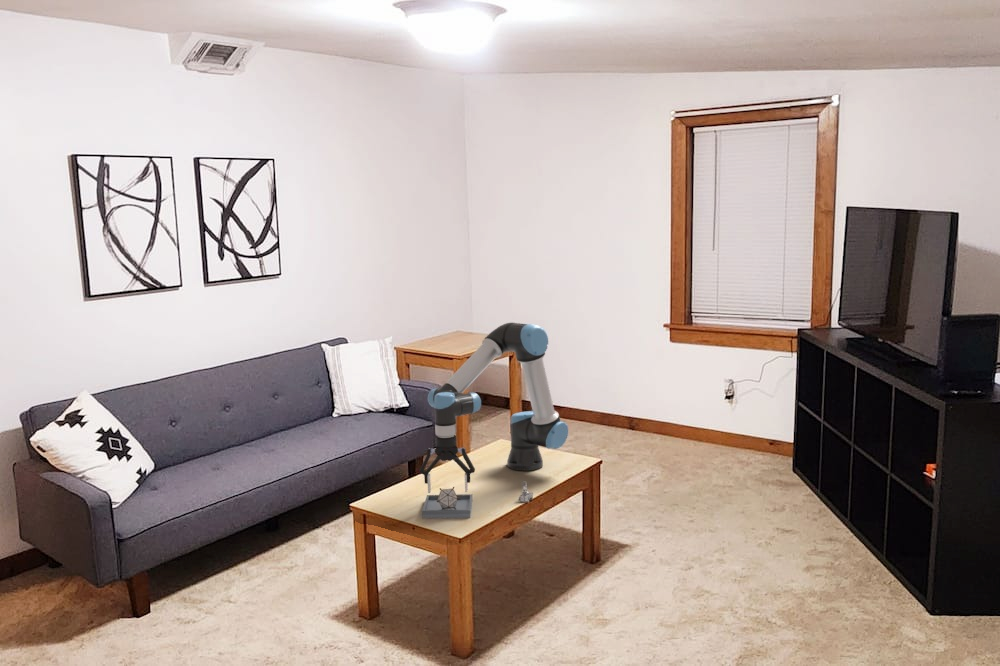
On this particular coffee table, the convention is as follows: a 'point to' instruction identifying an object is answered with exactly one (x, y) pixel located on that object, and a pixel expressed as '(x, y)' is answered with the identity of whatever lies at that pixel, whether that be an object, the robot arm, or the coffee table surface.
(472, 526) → the coffee table surface
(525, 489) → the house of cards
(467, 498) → the square tray
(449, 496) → the game die
